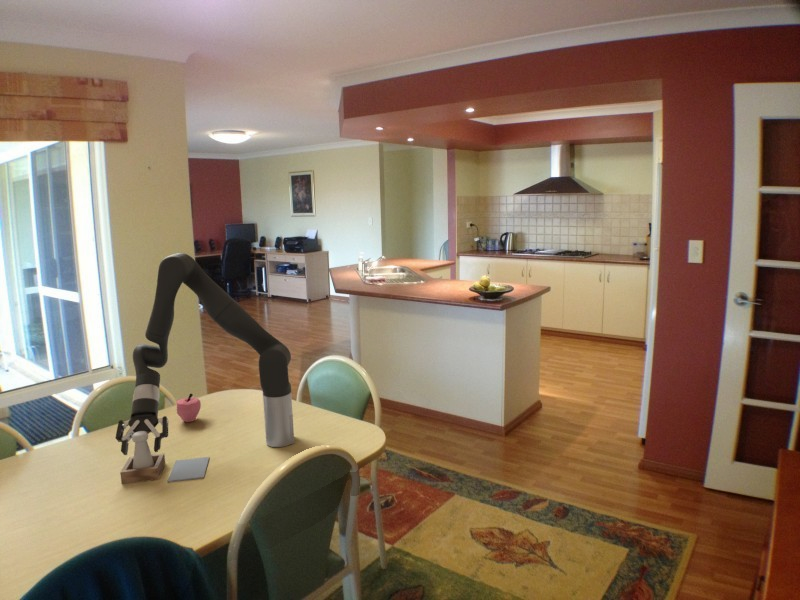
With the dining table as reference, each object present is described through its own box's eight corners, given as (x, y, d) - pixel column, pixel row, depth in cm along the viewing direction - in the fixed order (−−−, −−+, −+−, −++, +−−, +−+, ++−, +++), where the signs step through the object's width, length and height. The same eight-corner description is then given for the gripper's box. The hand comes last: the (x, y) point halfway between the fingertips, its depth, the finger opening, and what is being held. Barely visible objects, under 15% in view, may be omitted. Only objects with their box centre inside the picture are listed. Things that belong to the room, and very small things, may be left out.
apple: (178, 417, 206) (175, 392, 204) (202, 414, 208) (200, 389, 207) (176, 427, 197) (173, 401, 195) (201, 424, 199) (199, 398, 198)
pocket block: (165, 463, 170) (164, 453, 169) (158, 479, 160) (157, 468, 159) (130, 467, 168) (129, 456, 167) (121, 483, 158) (120, 472, 157)
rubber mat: (209, 458, 173) (209, 456, 173) (203, 478, 160) (203, 476, 160) (175, 461, 171) (175, 460, 171) (167, 482, 158) (167, 481, 158)
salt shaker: (146, 478, 160) (141, 437, 158) (129, 477, 162) (124, 436, 159) (158, 469, 166) (154, 429, 164) (142, 467, 167) (137, 428, 165)
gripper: (117, 399, 166) (110, 451, 157) (167, 394, 169) (163, 445, 160) (124, 409, 172) (118, 459, 163) (172, 405, 175) (168, 454, 166)
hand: (140, 452), depth 161 cm, fingers open, 8 cm apart
